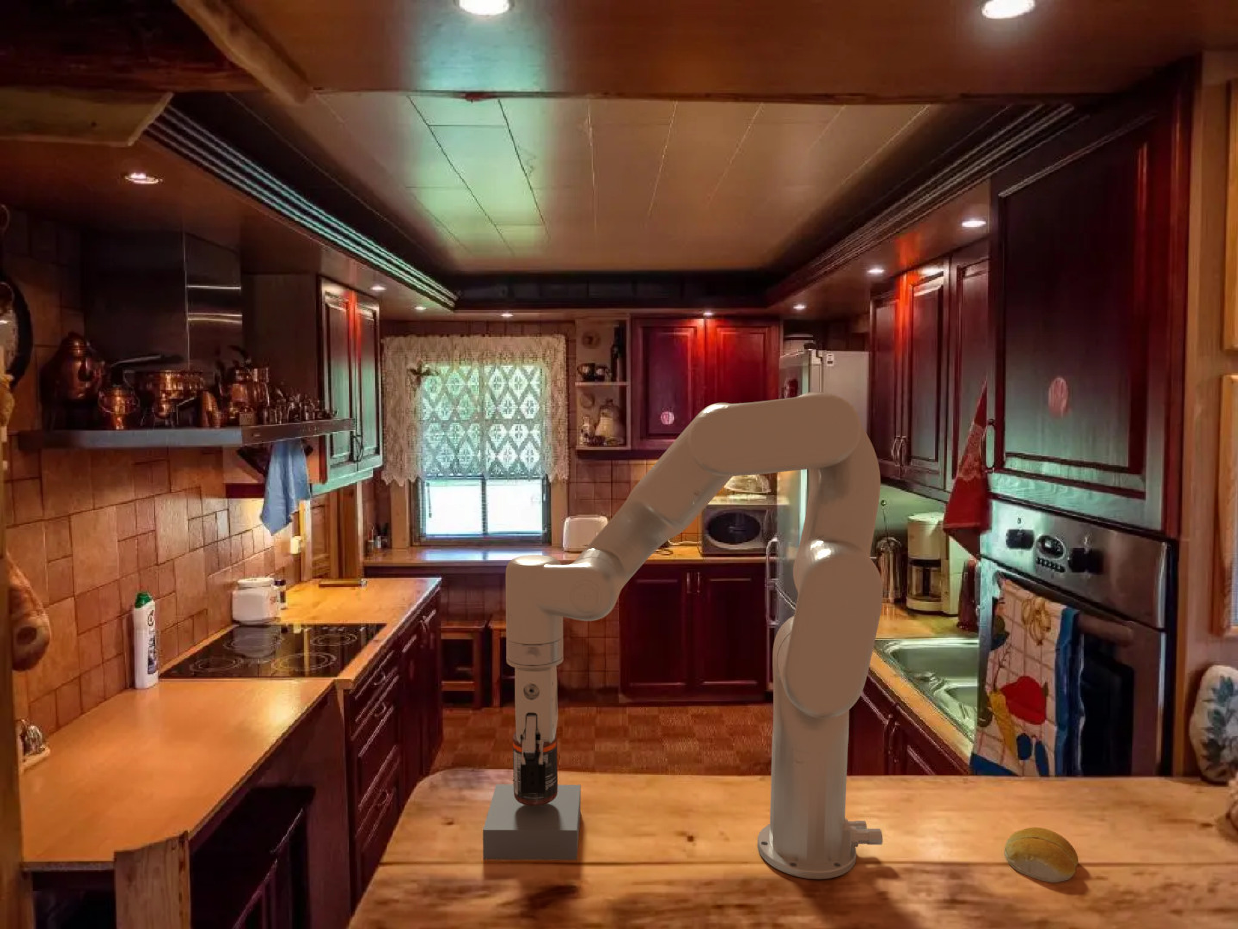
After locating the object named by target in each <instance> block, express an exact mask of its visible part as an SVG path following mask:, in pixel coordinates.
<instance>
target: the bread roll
mask: <svg viewBox="0 0 1238 929" xmlns="http://www.w3.org/2000/svg"><path fill="white" fill-rule="evenodd" d="M1003 852H1004V857H1005V859H1006V861H1007V863H1008V864H1009V865H1010V866H1011V868H1013V869H1014V870H1016V872H1018V873H1021V874H1022V875H1025V876H1028V877H1030V878H1033V879H1036V880H1039V881H1042V882H1047V883H1051V884H1052V883H1060V882H1066V881H1068V880H1070V879H1071V878H1072V877H1073V876H1074V875H1075V873H1076V867H1077V866H1078V864H1079V856H1078V853H1077V851H1076V850H1075V848H1074V847H1073V845H1072V844H1071V843H1070V842H1069V841H1068V840H1067V839H1066V838H1065V837H1063V835H1060V834H1059V833H1057V832H1055V831H1053V830H1050V829H1047V828H1043V827H1037V826H1036V827H1026V828H1023V829H1021V830H1017V831H1015V832H1013V833H1012V834H1011V835H1010V836H1009V838H1007V840H1006V843H1005V844H1004V851H1003Z"/></svg>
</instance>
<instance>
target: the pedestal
mask: <svg viewBox="0 0 1238 929" xmlns="http://www.w3.org/2000/svg"><path fill="white" fill-rule="evenodd" d="M581 789H582V788H581V784H558V793H557V796H556V798H555V799H554V800H552V801H551V802H549V803H547V804H544V805H539V806H529V805H524V804H521V803H519V802H518V801H517V800H516V799H515V797H514V784H510V783H509V784H503V783H502V784H500V783H499V784H495V787H494V792H493V795H492V797H491V801H490V804H489V808H488V812H487V815H486V819H485V822H484V825H483V828H482V860H485V859H487V861H488V860H490V859H493V861H494V860H495V861H497V860H501V861H502V860H503V861H504V860H507V861H509V860H512V861H514V860H515V861H521V860H523V861H524V860H527V861H545V860H546V861H577V859H578V848H579V835H580V822H581V804H582V802H581V793H582V792H581ZM490 861H491V860H490Z"/></svg>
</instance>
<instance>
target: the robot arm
mask: <svg viewBox="0 0 1238 929" xmlns="http://www.w3.org/2000/svg"><path fill="white" fill-rule="evenodd" d="M804 470H808V472H809V479H810V480H809V494H808V499H807V505H806V511H805V517H804V522H803V527H802V531H801V536H800V540H799V545H798V549H797V553H796V556H795V560H794V563H793V568H792V577H793V582H794V586H795V589H796V591H797V599H796V603H795V605H796V606H795V608H794V609H795V610H794V615H792V616H791V617H789V618H788V619H786V621H785V622H784V623H782V625H781V626H780V627H779V629H778V631H777V633H776V635H775V638H774V641H773V648H772V681H773V686H772V687H773V691H772V692H773V698H772V699H773V703H772V704H773V705H772V706H773V707H772V708H773V709H772V710H773V712H772V714H773V715H772V733H771V734H772V739H771V740H772V742H771V769H770V770H771V773H770V776H771V777H770V778H771V780H770V808H769V809H770V810H769V811H770V813H769V817H770V818H769V824H767V825H766V826H764V827H763V828H762V829H761V830H760V831H759V833H758V837H757V850H758V853H759V855H760V857H762V859H763V860H764V861H765V862H766V863H768V864H769V865H770V866H772V867H773V868H775V869H777V870H778V871H780V872H783V873H785V874H786V875H787V874H788V875H789V876H793V877H797V878H803V879H807V880H808V879H809V880H810V879H811V880H826V879H833V878H837V877H839V876H843V875H845V874H846V873H848V872H850V871H851V869H853V868H854V866H855V864H856V862H857V861H856V860H857V848H858V847H859V845H868V846H869V845H870V846H875V845H876V846H877V845H879V846H882V845H883V842H884V841H883V840H884V839H883V833H882V829H880V828H868V826H867V823H866V822H867V821H865V820H851V821H850V820H849V819H847V818H846V803H847V800H846V798H847V775H848V774H847V773H848V771H847V770H848V747H849V745H848V744H849V730H850V729H849V728H850V725H849V724H850V720H849V719H850V709H851V708H852V707H854V705H855V704H856V703H857V701H858V700H859V699H860V697H861V694H862V693H863V690H864V687H865V685H866V681H867V677H868V673H869V671H870V670H869V669H870V664H871V660H872V656H873V651H874V647H875V644H876V638H877V632H878V628H879V624H880V619H881V614H882V609H883V603H884V602H883V597H884V593H883V592H884V588H883V581H882V577H881V574H880V572H879V570H878V567H877V565H876V564H875V563H874V562H873V560H872V559H871V550H872V543H873V539H874V533H875V528H876V523H877V522H876V521H877V515H878V508H879V502H880V496H881V472H880V465H879V461H878V457H877V453H876V452H875V448H874V445H873V443H872V441H871V439H870V438H869V436H868V433H866V431H865V429H864V428H863V426H862V424H861V419H860V417H859V415H858V412H857V410H856V409H855V407H854V406H853V405H852V404H851V403H850V402H849V401H847V400H846V399H844V398H843V397H842V396H841V397H840V396H838V395H836V394H832V393H828V392H826V393H825V392H821V391H820V392H819V391H810V392H806V393H803V394H800V395H798V396H794V397H787V398H781V399H779V398H778V399H770V400H761V401H753V402H743V403H742V402H739V403H728V402H717V403H713V404H710V405H708V406H706V407H705V408H703V409H702V410H701V411H700V412H699V413H698V414H697V415H696V416H695V417H694V418H693V419H692V421H691V422H690V423H689V424H688V425H687V426H686V427H685V428H684V430H683V431H682V432H681V433H680V434H679V435H678V437H677V438H676V439H674V441H673V442H672V444H671V445H670V446H669V447H668V448H667V449H666V450H665V452H664V453H662V455H661V456H660V457H659V458H658V459H657V461H656V462H655V463H654V465H652V466H651V467H650V469H649V470H648V471H647V472H646V473H645V475H643V477H642V478H641V479H639V481H638V483H637V484H636V485H635V486H634V488H633V489H632V490H631V491H630V493H629V495H628V496H627V498H626V500H625V501H624V503H623V505H622V506H621V507H620V508H619V509H618V510H617V511H616V513H615V514H614V515H613V516H612V518H611V519H610V520H609V521H608V522H607V523H606V524H605V525H604V527H603V528H602V530H600V531H599V533H598V534H597V535H596V536H595V537H594V539H593V540H592V541H591V542H590V543H589V544H588V545H587V546H586V547H585V548H584V549H583V551H582V552H581V553H580V554H579V555H578V556H577V558H576V559H575V560H574V561H573V562H572V563H570V564H569V563H568V564H562V563H561V562H560V560H559V559H558V558H556V557H552V556H550V555H541V554H531V555H530V554H528V555H521V556H518V557H514V558H512V559H511V560H510V561H508V564H507V565H506V568H505V629H506V630H505V634H506V635H505V638H506V640H505V641H506V644H505V646H506V653H505V654H506V658H505V659H506V664H507V665H509V666H510V667H512V668H514V706H515V707H514V708H515V712H514V713H515V717H514V718H515V732H516V737H517V740H518V742H520V743H522V762H521V792H522V793H544V792H545V789H546V762H543V756H544V742H549V743H551V742H553V740H554V738H555V734H556V735H557V727H558V721H559V707H558V671H557V666H559V665H561V664H562V663H563V662H564V618H568V619H572V620H576V621H583V622H593V621H597V620H600V619H603V618H605V617H606V616H607V615H609V614H610V613H611V612H612V611H613V609H614V608H615V606H616V603H617V601H618V598H619V596H620V594H621V592H622V589H623V588H624V587H625V585H626V584H627V583H628V582H629V581H630V579H631V578H632V577H633V576H634V575H635V574H636V573H637V571H638V570H639V569H640V568H641V567H642V566H643V564H644V563H645V562H646V561H647V560H648V559H650V557H651V556H652V555H653V554H654V553H655V552H656V551H657V550H658V549H659V548H660V547H661V546H662V545H664V544H665V543H666V542H667V541H669V540H671V539H673V538H675V537H676V536H679V535H680V534H681V533H683V532H684V531H685V530H686V529H687V528H688V527H689V526H691V525H692V524H693V522H694V521H695V520H696V518H698V516H699V515H700V514H701V513H702V511H704V509H705V508H706V507H707V506H708V505H709V504H710V502H711V501H712V500H713V499H714V498H715V497H716V496H717V494H718V493H719V492H720V491H721V490H722V489H723V488H724V486H726V485H727V483H728V482H729V481H730V480H731V479H732V478H733V477H740V476H744V477H745V476H757V475H758V476H759V475H767V474H776V473H785V472H792V471H804ZM536 735H541V738H540V739H536ZM536 745H539V752H538V750H536Z"/></svg>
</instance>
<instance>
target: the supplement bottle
mask: <svg viewBox="0 0 1238 929" xmlns="http://www.w3.org/2000/svg"><path fill="white" fill-rule="evenodd" d="M540 738H541V735H536V739H540ZM536 750H538V752H539V745H536ZM521 762H522V743H520V742H518V740H517V737H516V731H515V732H514V733H513V736H512V766H513V767H512V768H513V769H512V770H513V771H512V772H513V776H512V777H513V779H512V782H513V785H514V797H515V799H516V800H517V801H518V802H519V803H521V804H524V805H529V806H539V805H544V804H547V803H549V802H551V801H552V800H554V799H555V798H556V796H557V793H558V785H559V784H558V782H559V780H558V779H559V778H558V777H559V776H558V735H557V733H556V734H555V738H554V740H553V742H551V743H549V742H544V756H543V762H546V789H545V792H544V793H522V792H521Z"/></svg>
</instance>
